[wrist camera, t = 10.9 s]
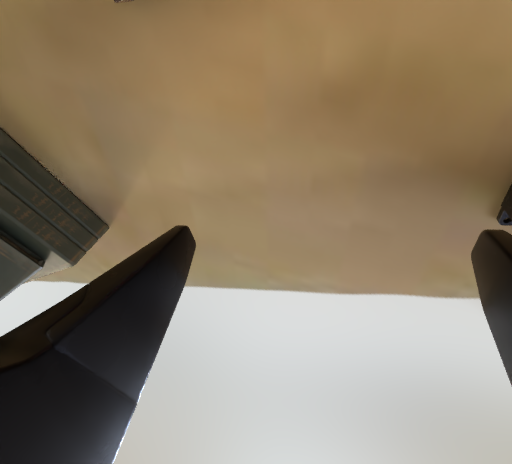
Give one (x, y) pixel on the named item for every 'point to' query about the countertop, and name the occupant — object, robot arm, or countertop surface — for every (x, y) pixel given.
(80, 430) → the robot arm
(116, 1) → the cutting board
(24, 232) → the dark grey display stand
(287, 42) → the countertop surface
